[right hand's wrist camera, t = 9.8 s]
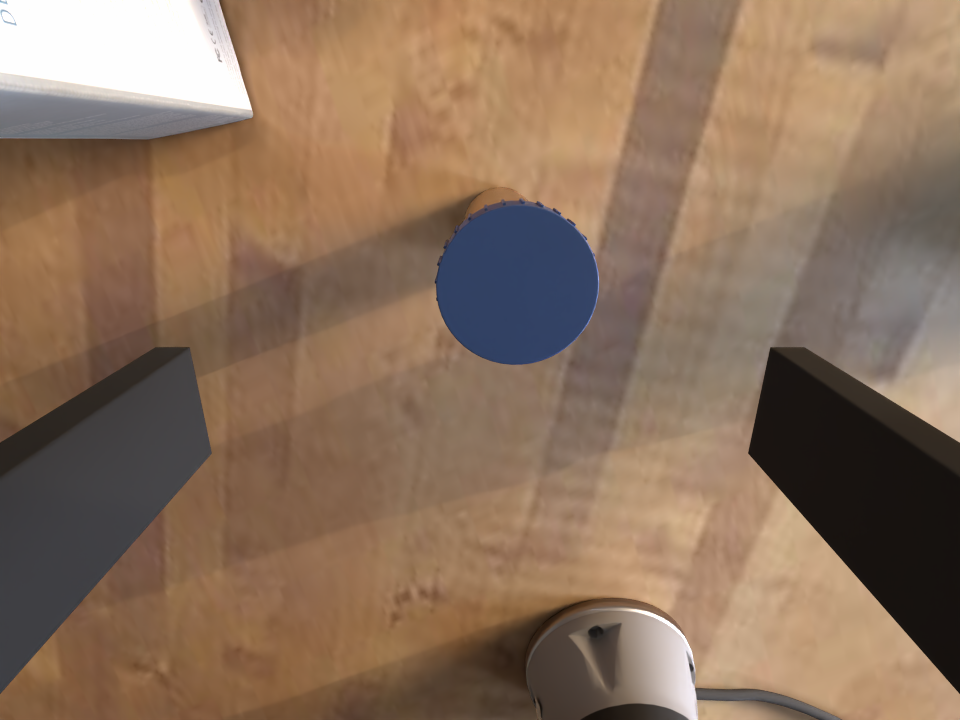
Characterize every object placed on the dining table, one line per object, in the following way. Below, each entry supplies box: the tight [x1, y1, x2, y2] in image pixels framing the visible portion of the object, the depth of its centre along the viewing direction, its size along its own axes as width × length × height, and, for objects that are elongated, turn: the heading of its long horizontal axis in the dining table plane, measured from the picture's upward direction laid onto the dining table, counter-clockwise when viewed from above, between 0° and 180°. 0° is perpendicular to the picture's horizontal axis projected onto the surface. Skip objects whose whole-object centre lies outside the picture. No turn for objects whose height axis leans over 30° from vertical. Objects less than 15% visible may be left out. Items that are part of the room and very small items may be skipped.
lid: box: [435, 198, 599, 365], centre depth 20 cm, size 6×6×2 cm
